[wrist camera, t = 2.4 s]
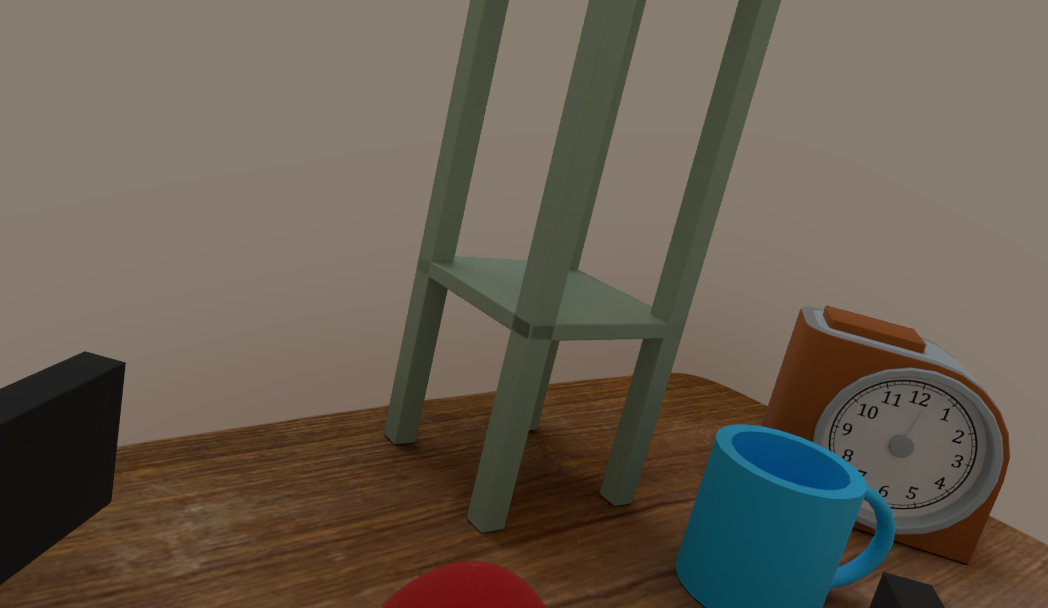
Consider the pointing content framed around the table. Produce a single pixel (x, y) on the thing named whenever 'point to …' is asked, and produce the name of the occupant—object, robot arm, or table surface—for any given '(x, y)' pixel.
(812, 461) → the mug
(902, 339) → the alarm clock
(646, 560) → the table surface
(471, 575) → the decorative egg
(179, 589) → the table surface
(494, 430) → the stand
